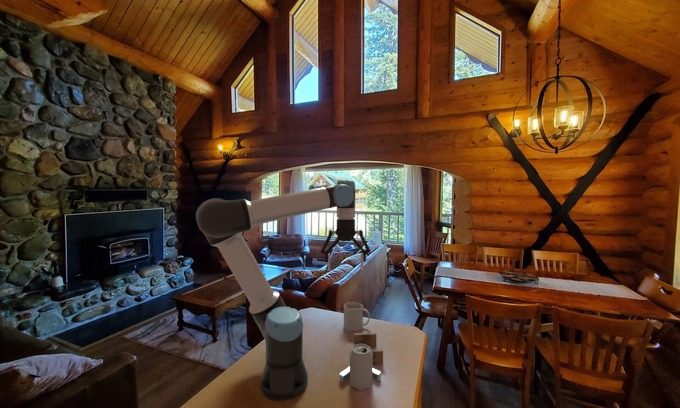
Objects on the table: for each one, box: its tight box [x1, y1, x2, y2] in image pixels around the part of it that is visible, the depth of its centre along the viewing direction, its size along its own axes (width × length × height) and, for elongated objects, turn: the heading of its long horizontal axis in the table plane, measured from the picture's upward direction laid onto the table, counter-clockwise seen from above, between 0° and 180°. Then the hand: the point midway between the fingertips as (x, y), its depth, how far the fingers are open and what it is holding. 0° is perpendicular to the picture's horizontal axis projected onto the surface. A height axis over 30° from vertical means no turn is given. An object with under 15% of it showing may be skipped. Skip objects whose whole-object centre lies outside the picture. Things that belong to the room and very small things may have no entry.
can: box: [349, 344, 374, 391], centre depth 93 cm, size 8×8×12 cm
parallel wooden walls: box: [353, 332, 384, 366], centre depth 110 cm, size 9×13×5 cm
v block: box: [339, 366, 382, 384], centre depth 98 cm, size 14×8×2 cm, turn 94°
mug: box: [343, 301, 371, 332], centre depth 132 cm, size 11×10×10 cm
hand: (345, 269), depth 117 cm, fingers open, 13 cm apart
